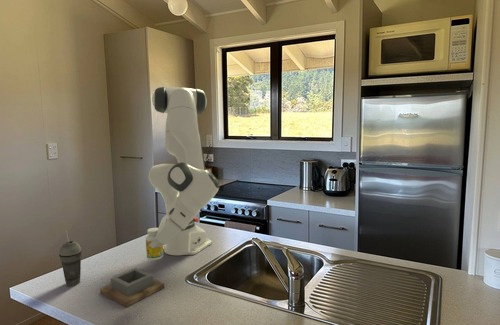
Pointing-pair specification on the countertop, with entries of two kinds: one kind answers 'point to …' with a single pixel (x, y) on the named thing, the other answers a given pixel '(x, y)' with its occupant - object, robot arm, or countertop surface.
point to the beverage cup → (71, 261)
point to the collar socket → (131, 287)
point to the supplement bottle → (157, 250)
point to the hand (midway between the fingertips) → (152, 242)
